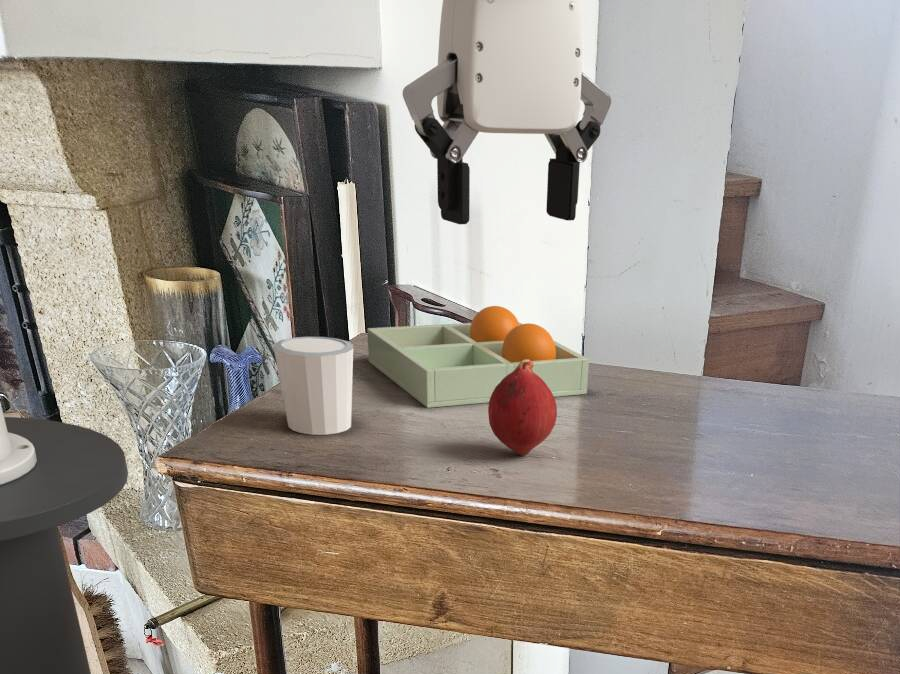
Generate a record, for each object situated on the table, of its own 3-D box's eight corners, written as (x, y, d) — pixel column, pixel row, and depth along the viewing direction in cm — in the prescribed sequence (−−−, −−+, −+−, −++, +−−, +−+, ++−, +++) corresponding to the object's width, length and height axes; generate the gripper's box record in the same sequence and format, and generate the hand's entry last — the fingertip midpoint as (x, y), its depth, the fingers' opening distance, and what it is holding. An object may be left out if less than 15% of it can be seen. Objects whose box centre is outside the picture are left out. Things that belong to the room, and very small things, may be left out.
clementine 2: (515, 389, 105) (516, 331, 102) (492, 375, 109) (493, 319, 106) (563, 385, 107) (566, 328, 104) (539, 371, 111) (542, 316, 108)
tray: (427, 408, 100) (426, 370, 98) (368, 362, 112) (367, 328, 110) (586, 394, 107) (589, 359, 105) (514, 352, 120) (515, 320, 118)
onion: (525, 471, 87) (529, 373, 82) (473, 454, 89) (474, 358, 85) (567, 455, 91) (572, 361, 86) (516, 440, 93) (519, 347, 89)
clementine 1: (481, 368, 111) (482, 313, 108) (461, 355, 115) (461, 301, 112) (528, 365, 113) (530, 310, 110) (507, 352, 117) (508, 299, 114)
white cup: (272, 434, 91) (263, 351, 87) (291, 411, 96) (284, 332, 92) (350, 439, 91) (344, 356, 87) (365, 416, 96) (360, 337, 93)
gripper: (586, -46, 77) (572, 210, 87) (375, -72, 69) (386, 215, 78) (649, -48, 72) (626, 223, 82) (430, -76, 64) (434, 231, 73)
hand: (509, 219), depth 80 cm, fingers open, 9 cm apart
